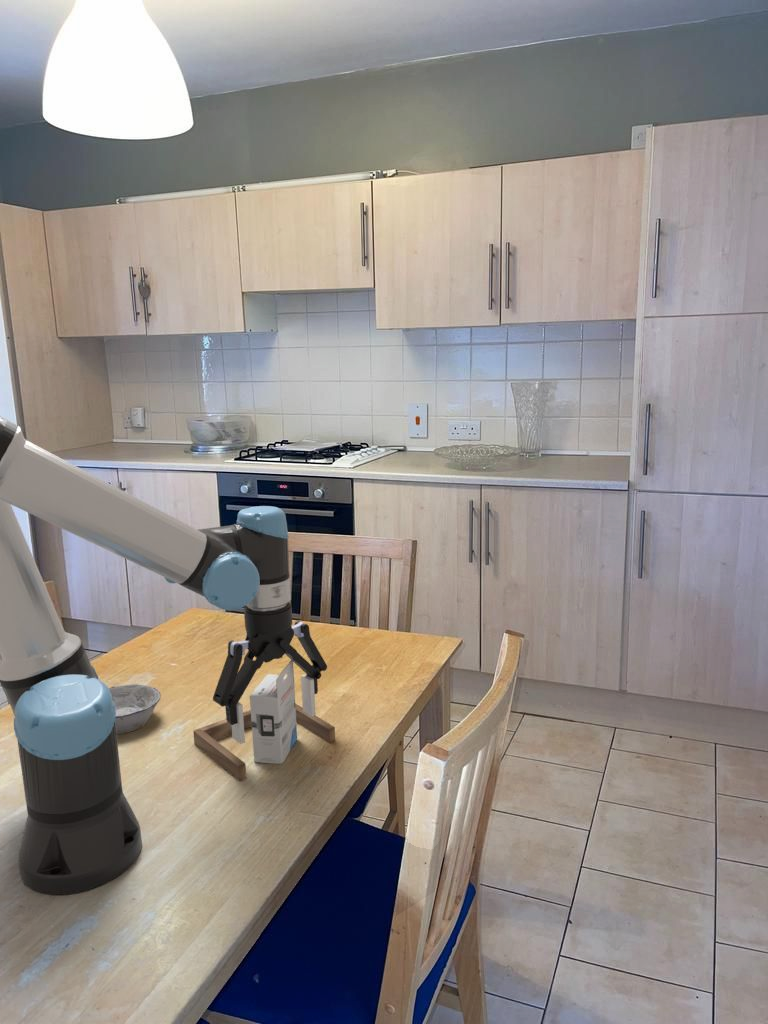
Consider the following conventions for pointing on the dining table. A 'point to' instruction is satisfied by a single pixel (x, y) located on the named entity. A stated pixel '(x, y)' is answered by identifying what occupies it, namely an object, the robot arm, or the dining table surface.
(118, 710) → the bowl
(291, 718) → the ink box
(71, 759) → the robot arm
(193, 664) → the dining table surface
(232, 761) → the wooden u-shaped frame
